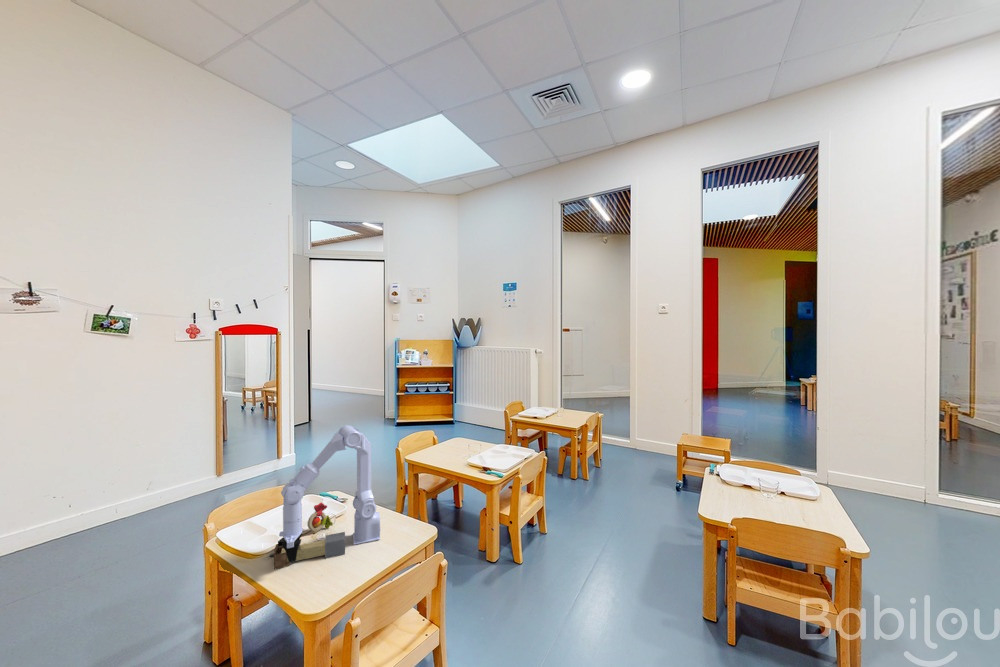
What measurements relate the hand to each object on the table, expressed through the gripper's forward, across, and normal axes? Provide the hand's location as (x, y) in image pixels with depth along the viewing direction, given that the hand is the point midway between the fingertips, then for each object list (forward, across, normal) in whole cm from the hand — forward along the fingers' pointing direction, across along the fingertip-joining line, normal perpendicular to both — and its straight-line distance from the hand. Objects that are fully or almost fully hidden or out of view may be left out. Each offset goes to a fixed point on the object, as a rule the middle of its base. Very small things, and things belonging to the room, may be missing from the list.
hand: (293, 556), depth 132 cm
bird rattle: (+2, -18, +8) cm, 20 cm away
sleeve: (+2, 0, +14) cm, 14 cm away
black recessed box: (+2, -8, -3) cm, 9 cm away
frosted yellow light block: (+1, 0, +4) cm, 4 cm away
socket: (+1, 0, -3) cm, 3 cm away
